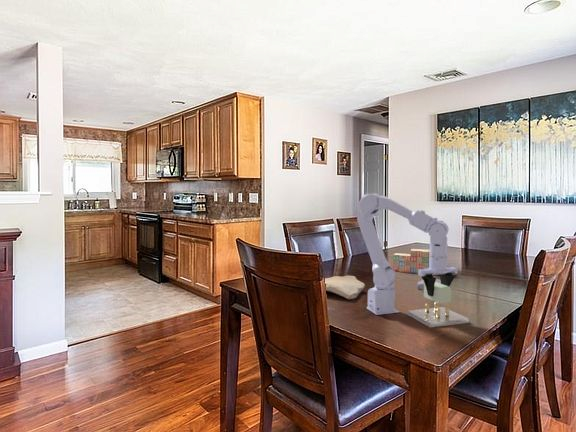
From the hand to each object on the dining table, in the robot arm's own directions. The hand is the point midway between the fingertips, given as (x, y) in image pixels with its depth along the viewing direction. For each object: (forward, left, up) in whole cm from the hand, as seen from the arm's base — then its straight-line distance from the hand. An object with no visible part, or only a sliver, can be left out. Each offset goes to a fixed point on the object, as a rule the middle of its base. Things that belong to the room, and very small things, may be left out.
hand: (437, 295), depth 130 cm
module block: (0, 0, -2) cm, 2 cm away
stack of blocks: (+36, +67, -9) cm, 76 cm away
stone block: (+24, +35, -9) cm, 43 cm away
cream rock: (-21, +42, -9) cm, 48 cm away
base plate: (0, 0, -8) cm, 8 cm away
